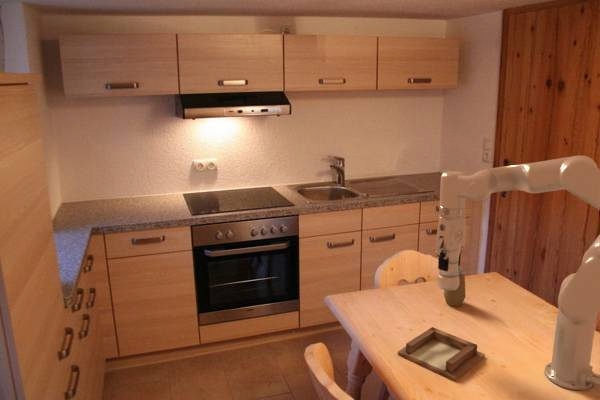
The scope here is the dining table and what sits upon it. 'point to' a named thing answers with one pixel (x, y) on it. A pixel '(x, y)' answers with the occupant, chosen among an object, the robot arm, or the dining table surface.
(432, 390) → the dining table surface
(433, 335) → the tray
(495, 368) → the dining table surface
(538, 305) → the dining table surface
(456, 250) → the plastic bottle
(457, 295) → the squeeze bottle
